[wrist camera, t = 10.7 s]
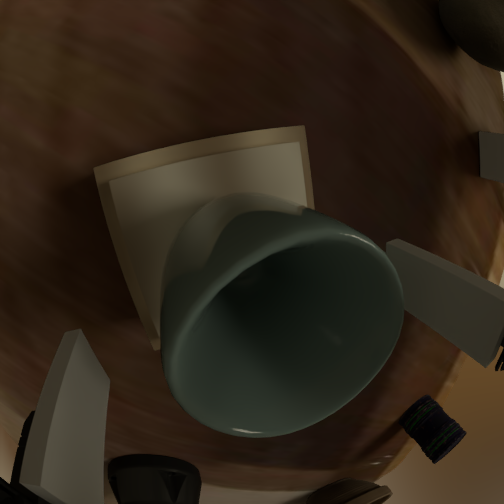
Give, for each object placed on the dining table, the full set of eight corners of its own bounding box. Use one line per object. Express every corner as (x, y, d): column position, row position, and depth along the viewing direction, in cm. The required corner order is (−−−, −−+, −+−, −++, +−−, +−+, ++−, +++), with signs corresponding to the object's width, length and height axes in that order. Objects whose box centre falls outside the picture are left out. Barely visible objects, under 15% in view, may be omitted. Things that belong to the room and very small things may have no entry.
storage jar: (392, 423, 47) (428, 466, 34) (423, 392, 46) (463, 432, 33) (406, 425, 51) (438, 461, 38) (434, 396, 50) (469, 431, 37)
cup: (135, 253, 15) (106, 381, 6) (234, 154, 15) (337, 157, 6) (227, 328, 18) (280, 453, 9) (313, 247, 18) (426, 327, 9)
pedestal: (154, 314, 23) (154, 359, 18) (110, 165, 18) (88, 168, 13) (294, 276, 26) (326, 308, 20) (275, 130, 21) (311, 124, 15)
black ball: (403, -24, 17) (486, -51, 3) (457, 6, 20) (527, -3, 6) (433, 64, 22) (535, 58, 9) (479, 81, 25) (556, 86, 11)
